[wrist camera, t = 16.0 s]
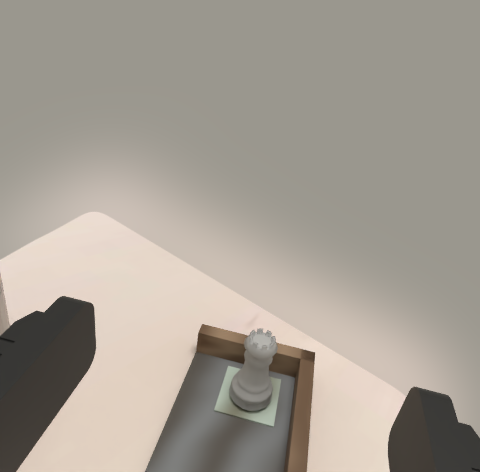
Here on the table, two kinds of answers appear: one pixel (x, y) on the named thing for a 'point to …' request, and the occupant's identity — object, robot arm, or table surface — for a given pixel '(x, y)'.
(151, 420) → the table surface
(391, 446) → the robot arm
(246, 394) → the rook chess piece
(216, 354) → the corner arena
